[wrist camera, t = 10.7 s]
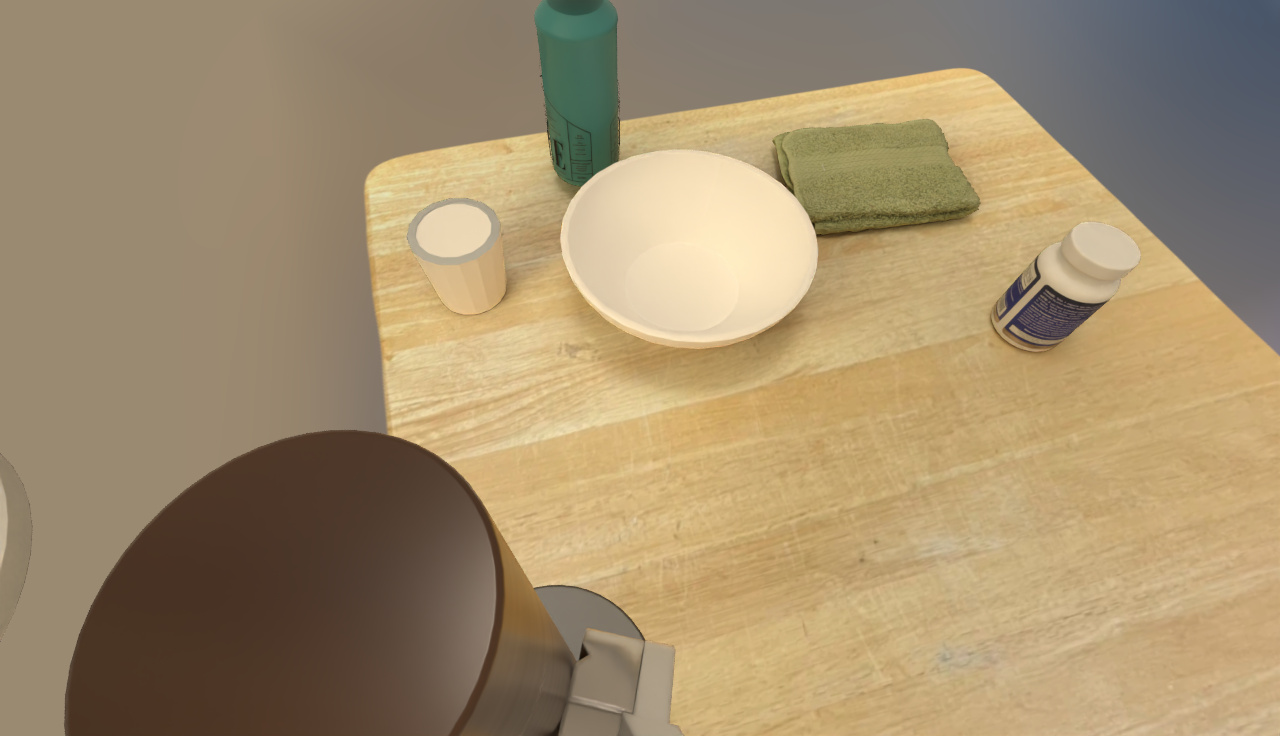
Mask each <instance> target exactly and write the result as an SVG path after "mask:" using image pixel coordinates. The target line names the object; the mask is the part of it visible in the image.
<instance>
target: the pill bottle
mask: <svg viewBox="0 0 1280 736" xmlns="http://www.w3.org/2000/svg"><path fill="white" fill-rule="evenodd" d="M1140 259H1141V253H1140V250H1139V247H1138V246H1137V244H1136V243H1135V241H1134V240H1133V239H1132V238H1131V237H1130V236H1128V235H1127V234H1126V233H1124V232H1123V231H1121V230H1120V229H1118V228H1116V227H1114V226H1111V225H1108V224H1105V223H1101V222H1083V223H1080V224H1078V225H1076V226H1075V227H1074V228H1073V229H1072V230H1071V231H1070V232H1069V233H1068V234H1067V235H1066V236H1065V237H1064V239H1063V240H1062V242H1057V243H1054V244H1052V245H1050V246H1048V247H1047V248H1045V249H1044V250H1043V251H1042V252H1041V253H1040V254H1039V255H1038V256H1037V257H1036V258H1035V260H1034V261H1033V262H1032V263H1031V264H1030V265H1029V266H1028V267H1027V268H1026V270H1025V271H1024V272H1023V273H1022V274H1021V275H1020V276H1019V277H1018V279H1017V280H1016V281H1015V282H1014V283H1013V284H1012V285H1011V286H1010V288H1009V289H1008V290H1007V291H1006V292H1005V293H1004V294H1003V295H1002V297H1001V298H1000V299H999V300H998V301H997V302H996V304H995V305H994V307H993V309H992V314H991V317H992V322H993V325H994V327H995V329H996V331H997V332H998V333H999V334H1000V335H1001V337H1002V338H1003V339H1005V340H1006V341H1007V342H1009V343H1010V344H1012V345H1014V346H1015V347H1018V348H1020V349H1023V350H1027V351H1033V352H1040V351H1046V350H1049V349H1052V348H1054V347H1055V346H1056V345H1058V344H1059V343H1060V342H1061V341H1062V340H1064V339H1065V338H1066V337H1067V336H1068V335H1069V334H1071V333H1072V332H1073V331H1074V330H1075V329H1076V328H1077V327H1079V326H1080V325H1081V324H1082V323H1083V322H1084V321H1085V320H1087V319H1088V318H1089V317H1090V316H1091V315H1092V314H1093V313H1095V312H1096V311H1097V310H1098V309H1099V308H1100V307H1102V306H1103V305H1104V304H1105V303H1106V302H1107V301H1108V300H1110V299H1111V298H1112V297H1113V296H1114V295H1115V294H1116V292H1117V291H1118V289H1119V286H1120V281H1121V278H1123V277H1125V276H1126V275H1127V274H1128V273H1129V272H1130V271H1131V270H1132V269H1134V268H1135V267H1136V266H1137V265H1138V263H1139V261H1140Z"/></svg>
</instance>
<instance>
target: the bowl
mask: <svg viewBox="0 0 1280 736" xmlns="http://www.w3.org/2000/svg"><path fill="white" fill-rule="evenodd" d="M560 239H561V248H562V256H563V259H564V262H565V264H566V267H567V269H568V272H569V275H570V277H571V279H572V281H573V283H574V284H575V286H576V287H577V289H578V290H579V291H580V293H581V294H582V296H583V297H584V299H585V300H586V301H587V302H588V303H589V304H590V305H591V306H592V307H593V308H594V309H595V310H596V311H597V312H598V313H599V314H600V315H601V316H602V317H603V318H604V319H606V320H607V321H609V322H610V323H612V324H613V325H615V326H617V327H618V328H620V329H621V330H623V331H624V332H626V333H628V334H631V335H633V336H636V337H638V338H641V339H643V340H646V341H648V342H652V343H656V344H661V345H665V346H670V347H674V348H692V349H704V348H713V347H721V346H727V345H731V344H734V343H737V342H741V341H744V340H747V339H750V338H752V337H754V336H756V335H757V334H759V333H761V332H763V331H765V330H767V329H769V328H771V327H772V326H774V325H775V324H777V323H778V322H779V321H780V320H781V319H783V318H784V317H785V316H786V315H787V314H789V313H790V312H791V311H792V310H793V309H794V308H795V307H796V306H797V304H798V303H799V302H800V300H801V299H802V298H803V296H804V295H805V294H806V292H807V291H808V290H809V288H810V285H811V283H812V280H813V278H814V275H815V273H816V269H817V260H818V245H817V239H816V233H815V230H814V228H813V225H812V223H811V221H810V218H809V216H808V214H807V213H806V211H805V210H804V208H803V207H802V205H801V204H800V202H799V201H798V200H797V198H796V197H795V196H794V195H793V194H792V193H791V192H790V191H789V190H788V189H787V188H786V187H785V186H784V185H782V184H781V183H780V182H778V181H777V180H776V179H774V178H773V177H771V176H770V175H768V174H767V173H766V172H764V171H762V170H760V169H758V168H756V167H754V166H752V165H750V164H748V163H746V162H743V161H740V160H737V159H734V158H731V157H728V156H725V155H722V154H716V153H711V152H706V151H700V150H683V149H675V150H661V151H653V152H649V153H644V154H639V155H635V156H632V157H629V158H627V159H624V160H621V161H619V162H616V163H614V164H612V165H610V166H609V167H607V168H605V169H604V170H602V171H600V172H598V173H597V174H596V175H594V176H593V177H592V178H591V179H590V180H589V181H588V182H586V183H585V184H584V185H583V186H582V187H581V188H580V190H579V191H578V192H577V194H576V195H575V196H574V198H573V199H572V200H571V202H570V204H569V206H568V209H567V211H566V213H565V215H564V218H563V223H562V229H561V236H560Z"/></svg>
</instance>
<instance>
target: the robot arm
mask: <svg viewBox="0 0 1280 736" xmlns="http://www.w3.org/2000/svg"><path fill="white" fill-rule="evenodd" d="M674 662H675V648H674V646H673V645H668V644H663V643H658V642H653V641H648V640H645V642H644V641H643V640H639V639H635V638H630V637H626V636H621V635H617V634H613V633H608V632H604V631H599V630H595V629H591V628H587V629H586V632H585V635H584V638H583V641H582V646H581V651H580V657H579V661H578V662H577V663H576V664H575V667H574V670H573V674H572V677H571V680H570V687H569V692H568V696H567V700H566V705H565V709H564V712H563V715H562V718H561V724H560V730H559V736H684V734H683V733H682V731H681V729H680V728H679V726H677V725H673V724H669V723H670V711H671V698H672V686H673V674H674Z"/></svg>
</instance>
